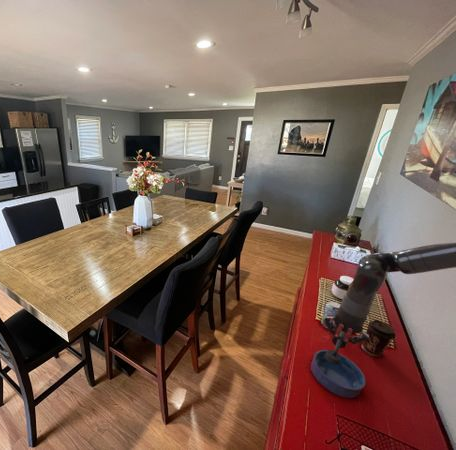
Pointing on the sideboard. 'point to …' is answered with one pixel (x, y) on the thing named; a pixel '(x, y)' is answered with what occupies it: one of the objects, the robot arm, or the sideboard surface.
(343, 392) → the bowl
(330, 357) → the door handle
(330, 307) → the beverage can
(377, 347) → the coffee cup
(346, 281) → the spread jar
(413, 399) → the sideboard surface
